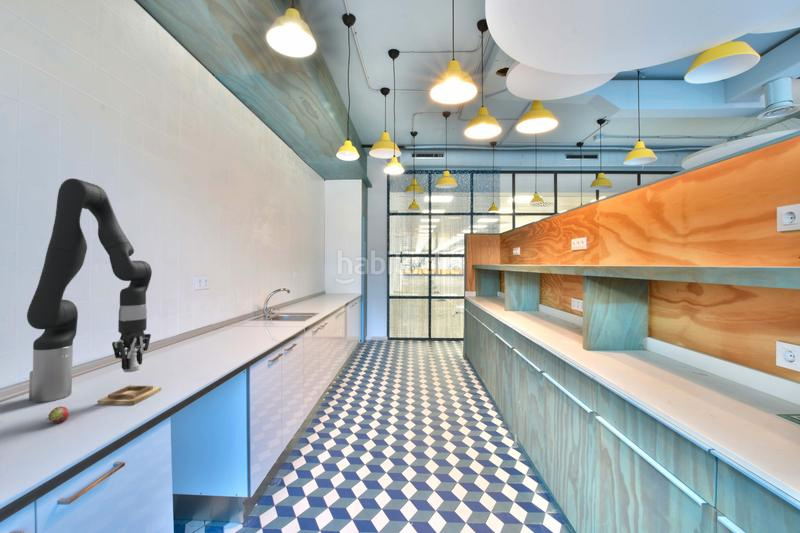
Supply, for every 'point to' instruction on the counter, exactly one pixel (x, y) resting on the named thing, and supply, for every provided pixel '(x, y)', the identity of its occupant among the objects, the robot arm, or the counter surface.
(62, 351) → the robot arm
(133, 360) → the rook chess piece
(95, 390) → the counter surface
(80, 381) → the counter surface
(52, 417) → the fruit
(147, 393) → the display stand
